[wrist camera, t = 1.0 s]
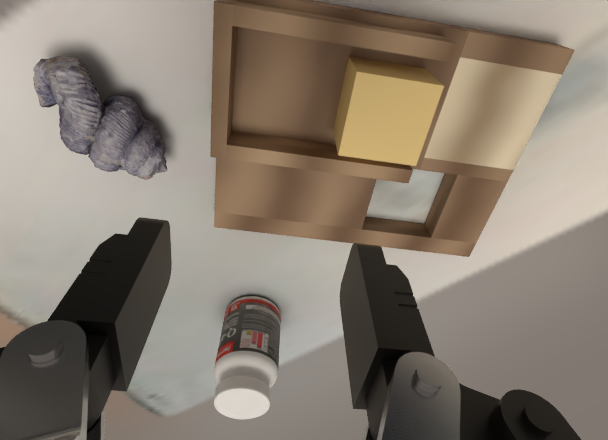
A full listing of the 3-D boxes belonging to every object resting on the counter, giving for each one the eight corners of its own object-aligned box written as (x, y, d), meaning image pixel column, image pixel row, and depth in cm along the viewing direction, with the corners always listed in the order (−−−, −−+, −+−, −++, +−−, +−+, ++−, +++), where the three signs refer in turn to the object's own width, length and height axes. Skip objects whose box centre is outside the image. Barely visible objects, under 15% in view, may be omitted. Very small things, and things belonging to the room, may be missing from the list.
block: (424, 68, 25) (444, 85, 22) (401, 141, 28) (416, 166, 24) (348, 56, 24) (356, 71, 21) (333, 131, 27) (338, 155, 24)
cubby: (443, 36, 24) (457, 43, 22) (400, 167, 29) (408, 183, 27) (221, -3, 23) (214, 1, 20) (216, 141, 28) (210, 156, 25)
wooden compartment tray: (557, 44, 26) (574, 50, 24) (461, 242, 36) (469, 256, 34) (227, -15, 24) (222, -13, 22) (218, 213, 33) (214, 226, 32)
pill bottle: (229, 289, 38) (211, 380, 30) (285, 298, 39) (282, 389, 31) (222, 327, 42) (204, 418, 33) (275, 334, 42) (269, 426, 34)
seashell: (55, 64, 28) (177, 150, 32) (2, 119, 26) (140, 204, 30) (57, 24, 23) (198, 129, 27) (-6, 86, 21) (158, 191, 25)
